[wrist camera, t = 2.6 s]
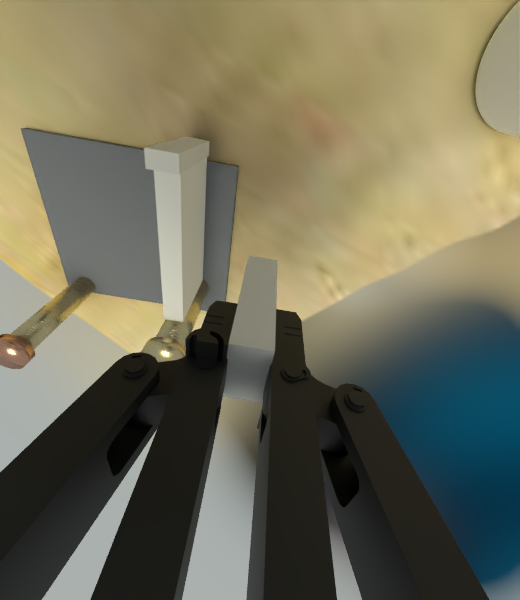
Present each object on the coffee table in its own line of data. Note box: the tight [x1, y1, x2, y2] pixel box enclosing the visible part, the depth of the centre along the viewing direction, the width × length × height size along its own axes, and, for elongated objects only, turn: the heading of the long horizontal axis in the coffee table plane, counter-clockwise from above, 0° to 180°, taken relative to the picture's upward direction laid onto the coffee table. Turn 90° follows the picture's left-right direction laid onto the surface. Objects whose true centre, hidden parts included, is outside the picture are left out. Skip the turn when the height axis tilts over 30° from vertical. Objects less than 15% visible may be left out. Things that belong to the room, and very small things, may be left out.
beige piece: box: [144, 136, 210, 322], centre depth 20 cm, size 12×2×7 cm, turn 171°
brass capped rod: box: [0, 277, 96, 369], centre depth 25 cm, size 3×3×11 cm
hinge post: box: [141, 279, 209, 362], centre depth 25 cm, size 3×3×11 cm
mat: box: [21, 128, 239, 311], centre depth 26 cm, size 15×17×1 cm
